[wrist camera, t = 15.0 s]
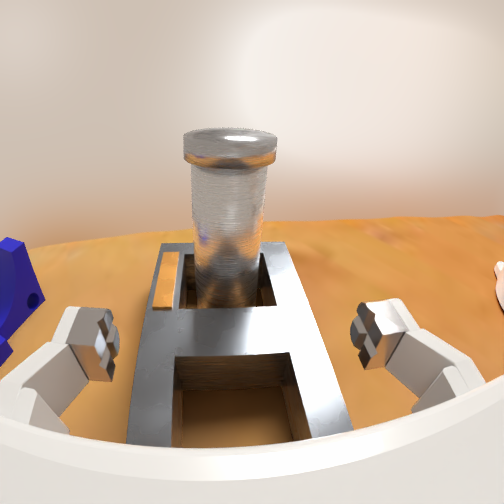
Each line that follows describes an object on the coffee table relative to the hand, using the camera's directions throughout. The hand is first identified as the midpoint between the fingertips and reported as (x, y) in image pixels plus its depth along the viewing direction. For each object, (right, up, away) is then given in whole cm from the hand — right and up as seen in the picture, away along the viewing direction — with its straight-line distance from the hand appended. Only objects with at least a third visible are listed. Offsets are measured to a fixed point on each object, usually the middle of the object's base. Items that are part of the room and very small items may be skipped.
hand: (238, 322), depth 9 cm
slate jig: (-1, -5, +9) cm, 10 cm away
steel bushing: (-1, -2, +13) cm, 13 cm away
